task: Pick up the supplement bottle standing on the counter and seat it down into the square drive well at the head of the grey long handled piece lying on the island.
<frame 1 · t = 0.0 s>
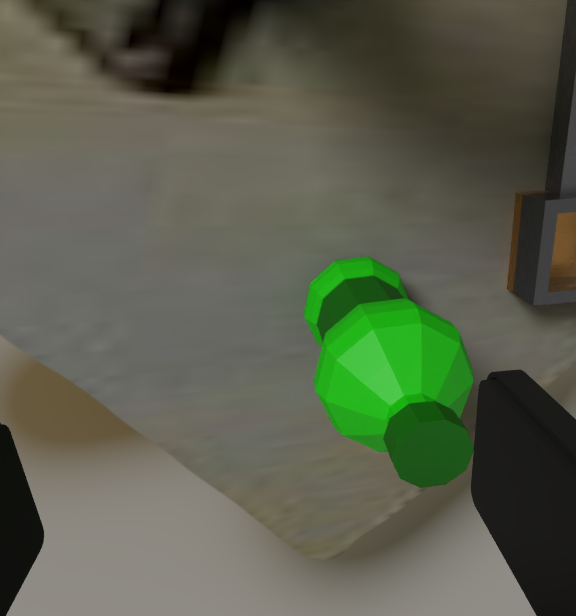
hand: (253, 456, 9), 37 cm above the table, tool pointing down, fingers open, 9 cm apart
grey long handled piece: (559, 238, 46), on the table
plastic bottle: (349, 294, 48), on the table
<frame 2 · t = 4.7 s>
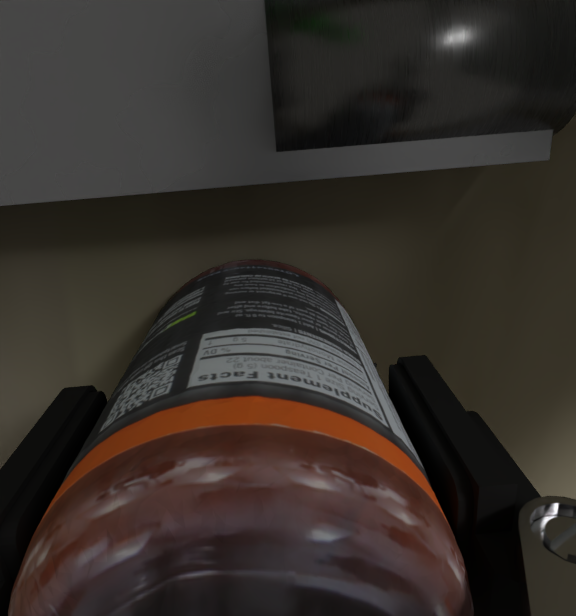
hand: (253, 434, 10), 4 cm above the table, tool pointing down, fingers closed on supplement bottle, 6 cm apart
supplement bottle: (256, 347, 14), on the table, touching gripper
when the fingers open (7 cm above the table, at t = 10.5 s): supplement bottle drops 1 cm, resting on grey long handled piece.
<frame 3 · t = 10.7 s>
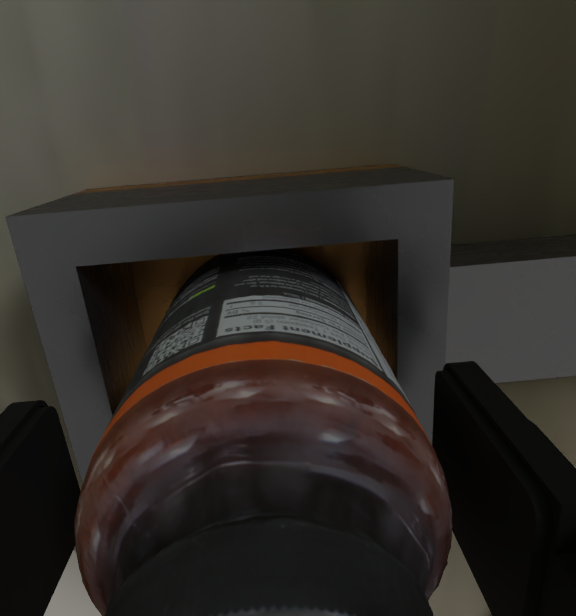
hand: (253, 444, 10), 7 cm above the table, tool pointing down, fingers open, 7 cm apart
grey long handled piece: (256, 318, 16), on the table
supplement bottle: (264, 326, 15), point 1 cm above the table, touching grey long handled piece
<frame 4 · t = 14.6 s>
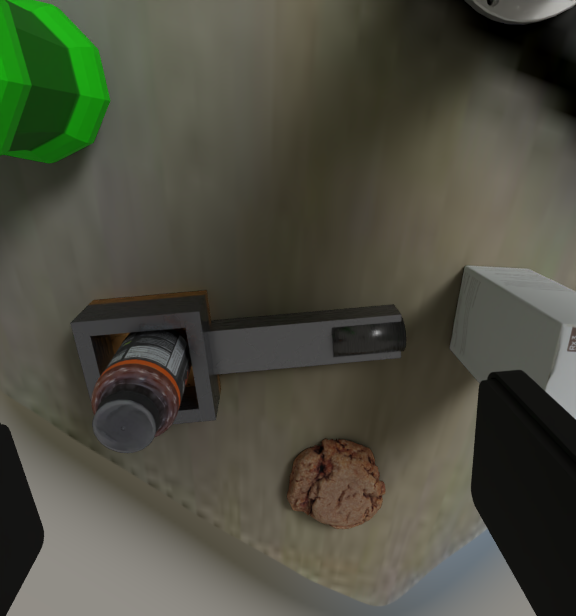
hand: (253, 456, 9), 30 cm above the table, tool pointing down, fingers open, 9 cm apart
skincare box: (484, 305, 42), on the table
cookie: (336, 476, 48), on the table
grey long handled piece: (159, 346, 41), on the table
plastic bottle: (55, 88, 34), on the table
supplement bottle: (160, 350, 40), point 1 cm above the table, touching grey long handled piece
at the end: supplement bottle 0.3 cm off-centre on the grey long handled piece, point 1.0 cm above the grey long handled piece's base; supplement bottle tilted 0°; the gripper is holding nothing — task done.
